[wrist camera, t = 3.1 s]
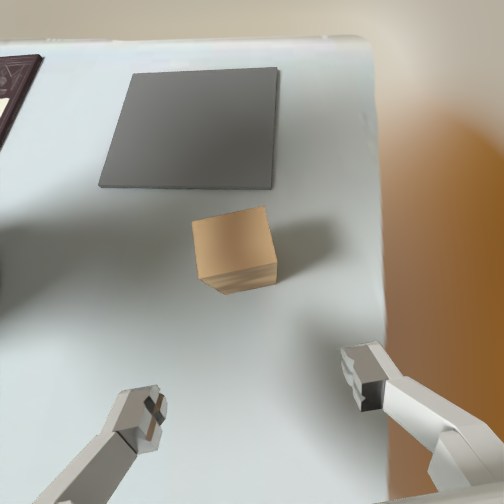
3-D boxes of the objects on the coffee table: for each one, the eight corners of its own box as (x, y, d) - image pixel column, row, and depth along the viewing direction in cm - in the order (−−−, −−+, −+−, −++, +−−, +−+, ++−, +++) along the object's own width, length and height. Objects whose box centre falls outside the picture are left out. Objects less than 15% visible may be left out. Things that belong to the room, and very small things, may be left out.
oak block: (224, 294, 22) (198, 278, 14) (218, 255, 23) (191, 221, 15) (276, 284, 22) (277, 262, 14) (267, 245, 23) (264, 205, 15)
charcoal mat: (101, 187, 27) (97, 185, 26) (135, 77, 32) (133, 73, 32) (270, 189, 25) (270, 186, 24) (277, 71, 30) (277, 67, 30)
